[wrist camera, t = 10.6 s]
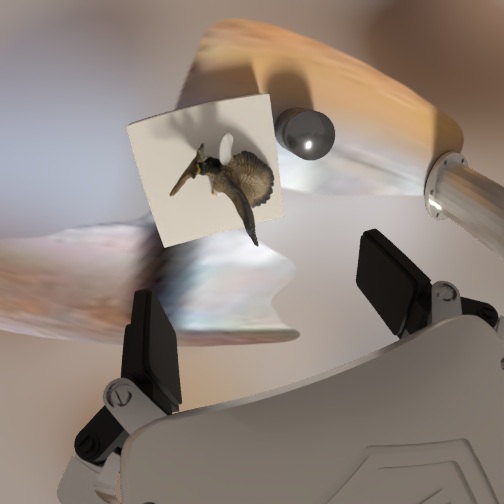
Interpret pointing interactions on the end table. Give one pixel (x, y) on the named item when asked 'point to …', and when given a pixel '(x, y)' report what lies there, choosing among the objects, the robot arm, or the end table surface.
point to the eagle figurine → (234, 179)
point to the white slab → (184, 151)
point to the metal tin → (305, 133)
